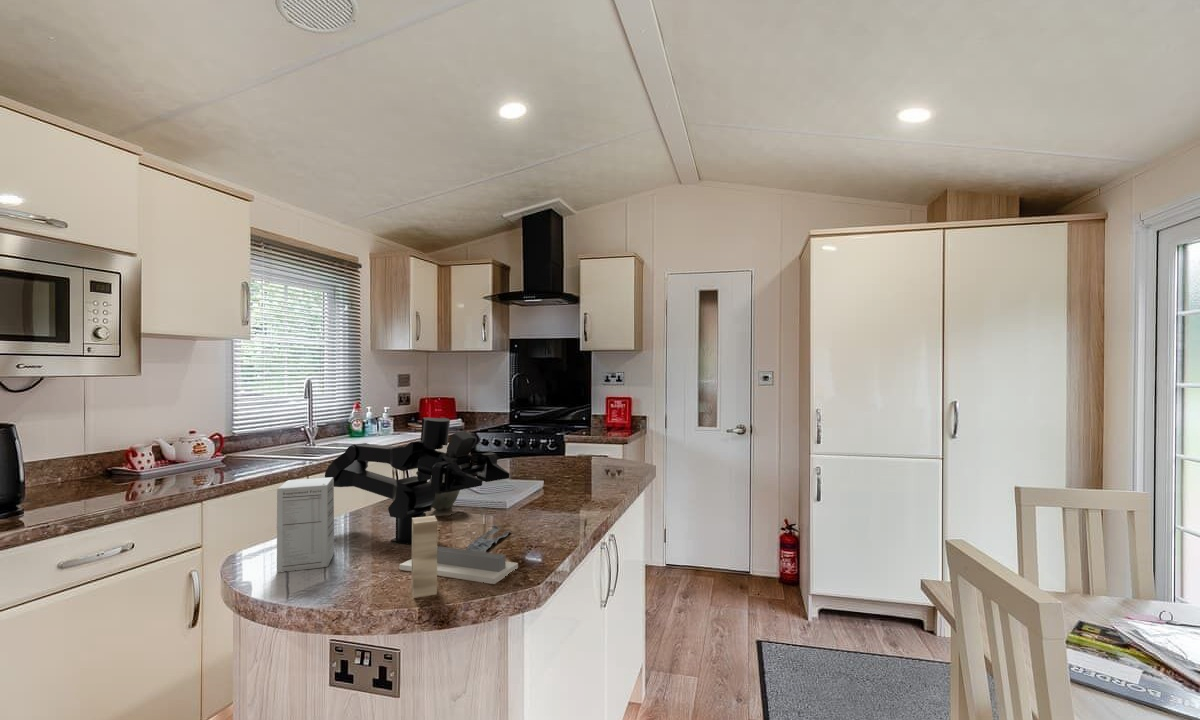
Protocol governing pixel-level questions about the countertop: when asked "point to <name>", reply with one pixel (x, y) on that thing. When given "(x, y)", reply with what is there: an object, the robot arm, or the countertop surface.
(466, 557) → the ridge stand
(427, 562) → the brass post
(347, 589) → the countertop surface
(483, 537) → the driftwood
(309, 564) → the supplement box
